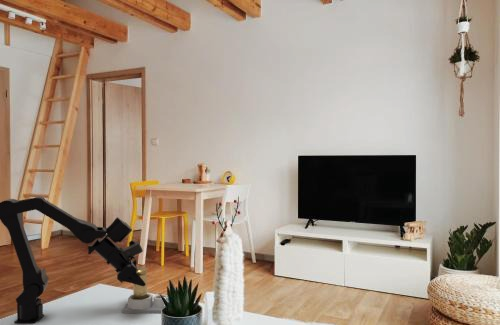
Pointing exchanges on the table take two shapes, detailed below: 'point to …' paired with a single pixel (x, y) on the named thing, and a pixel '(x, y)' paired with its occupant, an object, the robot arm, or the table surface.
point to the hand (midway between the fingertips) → (144, 282)
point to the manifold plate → (148, 310)
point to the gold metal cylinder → (138, 290)
